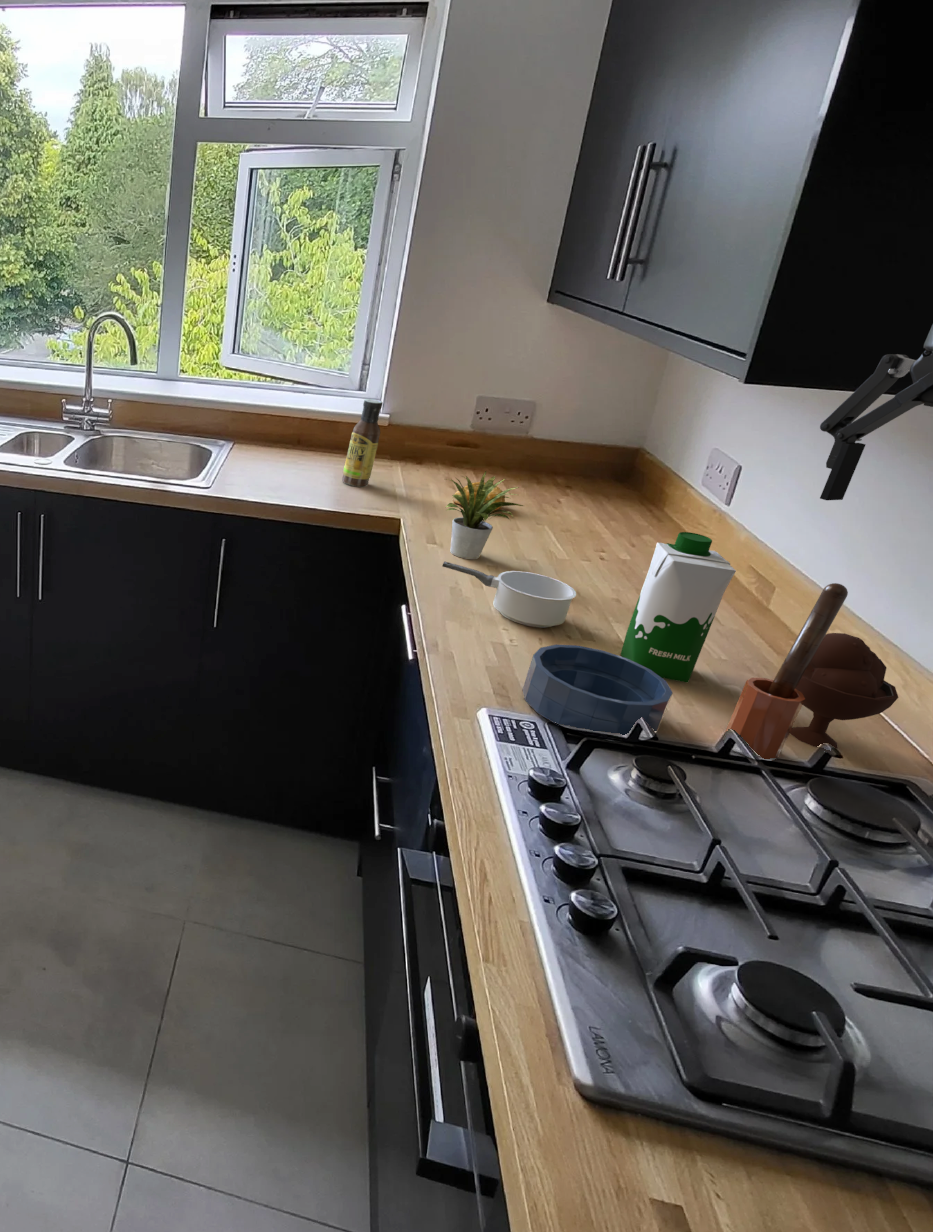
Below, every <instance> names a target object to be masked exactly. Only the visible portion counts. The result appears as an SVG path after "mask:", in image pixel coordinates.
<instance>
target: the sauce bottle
mask: <svg viewBox="0 0 933 1232" xmlns="http://www.w3.org/2000/svg"><path fill="white" fill-rule="evenodd" d="M362 406H363V408H362V412H361V416H360V420H359V421H358V422H357V423H356V424H355V425H354V427H353V430H352V432H351V436H350V441H349V444H348V449H347V453H346V456H345V457H346V458H345V462H344V466H343V469H342V470H343V471H342V478H341V480H342V482H343V483H345V484H346V485H348V486H352V487H357V488H364V487H366V486H368V485H369V481H370V479H371V475H372V471H373V466H374V463H375V460H376V459H375V458H376V455H377V450H378V446H379V440H380V437H381V428H380V425H379V423H378V421H379V416H380V412H381V410H382V407H383V401H382V400H379V399H374V398H366V399H364V401H363V405H362Z"/></svg>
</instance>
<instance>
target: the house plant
mask: <svg viewBox="0 0 933 1232" xmlns="http://www.w3.org/2000/svg"><path fill="white" fill-rule="evenodd" d="M486 475H487V470H486V471H485V470H484V473H483V474H482V476H481V478H480V481H479V482H480V484H479V487H478V490H477V494H476V499H475V498H474V488H473V485H472V483H473V482H472V480H471V479H470V478H469V477H468V476H467V475H465V476H463V475H461V477H462V478H464V479H465V480H466V482H467V485H466V486H468V489H469V506H468V501H467V496H466V492H465V490H464V488H463V487H464V486H463V484H462V483H461V480H460V479H458V478H457V477H455V476H454V478H455V479H456V481H458V482H456V481H454V480H453V479H447V478H445V480H447V481H449V482H453V484H454V485H455V487H456V488H457V491H458V490H459V492H460V493H461V495H462V496H460V495H457V494H456V495H454V494H452V495H451V496H452V497H454V498H456V499H457V500H458V501H459V502H460V503H461V505H460V506H461V507H462V508H461V507H459V506H458V504H456V503H454V502H449V503H448V504H447V505H446V506H445V508H447V509H446V511H458V512H460V513H461V515H462V517H455V518H453V519H452V526H451V538H450V548H449V549H450V550H449V551H450V553H451V554H452V555H453V556H455V557H458V558H462V559H465V560H477V559H479V558H480V556H481V554H482V553H483V550H484V548H485V545H486V543H487V542H488V539H489V537H490V536H491V533H492V530H493V529H494V527H493V525H492V524H490V523H489V522H487V521H489V520H491V519H493V518H494V517H500V518H501V517H502V518H506V519H507V520H509V521H511V518H510V517H509V516H508V515H510V516H511V517H514V515H513V512H511V511H508V510H504V509H498V510H495V509H496V508H498V507H501V508H503V507H511V506H519V507H524V505H523V504H519V503H516V502H511V501H510V502H509V501H505V502H496V503H493V504H491V503H492V502H495V500H496V499H499V497H501V496H503V495H505V499H510V497H509V496H506V495H508V492H510V491H512V490H515V489H519V488H520V486H515V487H514V486H513V487H510V488H507V489H505V490H502V491H503V492H501V493H500V494H498V495H496V496H495V497H494V498H492V499H490V500H486V501H485V499H486V497H487V496H488V494H489V493H490V492H491V491H492V490H493V489H494V488H495V487H496V486H497V487H498V485H500V484H502V483H503V482H504V481H506V478H504V479H502V480H499V481H497V482H496V483H494V481H495V479H496V475H494V476H492V477H490V478H488V480H486V482H485V479H486ZM484 482H485V485H484ZM462 488H463V489H462ZM463 490H464V491H463ZM464 492H465V493H464ZM511 495H512V496H518V494H516V493H510V496H511ZM501 498H504V497H501ZM474 499H475V504H474ZM484 502H486V503H484ZM490 504H491V505H490ZM457 508H458V509H457ZM494 510H495V511H494ZM499 512H500V513H499ZM507 514H508V515H507ZM490 517H491V518H490Z"/></svg>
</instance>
